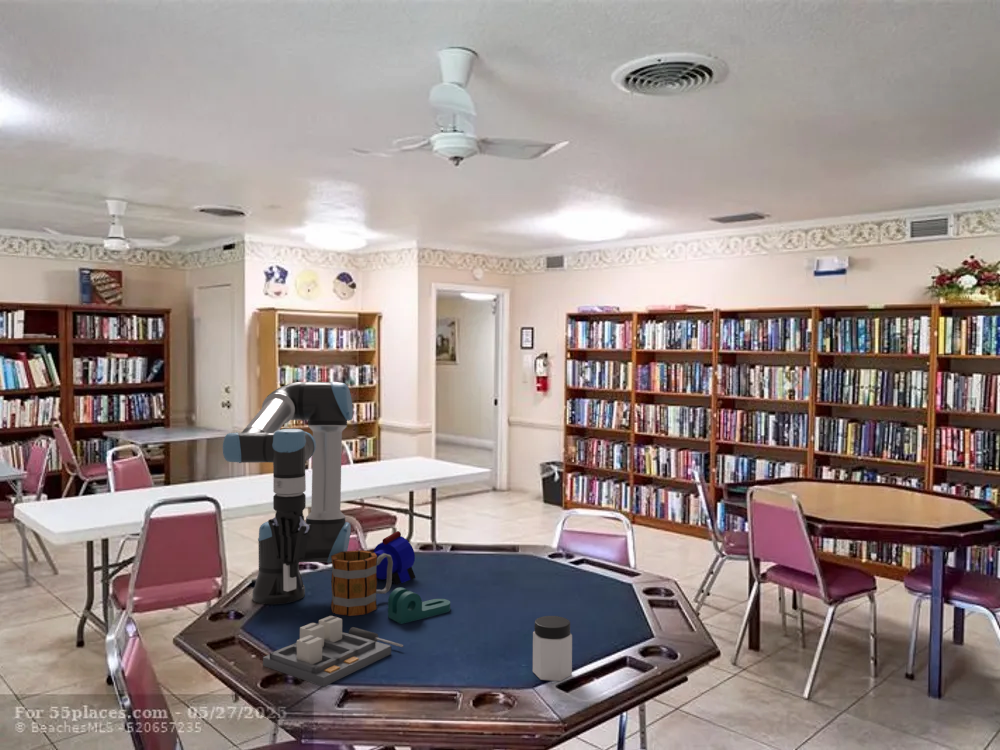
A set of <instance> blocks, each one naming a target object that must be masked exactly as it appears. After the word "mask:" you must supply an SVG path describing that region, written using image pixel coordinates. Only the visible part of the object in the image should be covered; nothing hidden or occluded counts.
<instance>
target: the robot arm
mask: <svg viewBox="0 0 1000 750" xmlns="http://www.w3.org/2000/svg"><path fill="white" fill-rule="evenodd" d="M353 409H354V408H353V400H352V394H351V391H350V388H349V385H347V384H346V383H344V382H340V381H339V382H336V381H295V382H292V383H291V382H290V383H287V384H285V385H283V386H280V387H278V388H277V389H275V390H273V391H272V392H271V393H270V394H268V395H267V396H266V397H265V398H264V399H263V402H262V405H261V409H260V410H258V412H257V413H256V415H254V417H253V418H252V419H251V421H250V422H249V423H248V424H247V425H246V427H245V428H244V429H243V430H242V431H241V432H237V431H236V432H229V433H227V434H225V436H224V439H223V442H222V455H223V458H224V459H225V462H226V461H227V462H228V463H239V464H243V463H247V464H249V463H253V464H254V463H255V464H256V463H258V464H259V463H272V466H273V470H272V471H273V474H272V475H273V477H272V479H273V483H272V484H273V490H272V491H273V493H274V495H273V501H272V502H273V503H272V504H273V510H274V511H275V515H274V517H273V518H270V519H268V521H264V522H263V523H261V524H260V526H259V529H258V538H257V542H258V573H257V577H256V581H255V584H254V587H253V589H252V594H251V595H252V597H251V598H252V601H254V602H255V603H256V604H257V603H258V604H262V605H284V604H289V603H292V602H296V601H297V602H298V601H299V600H301V599H303V598H304V597H305V595H306V587H305V585H304V581H303V579H302V574H301V573H300V563H328V564H329V563H330V564H331V563H332V559H331V556H332V555H334V554H337V553H340V552H344V551H349V550H348V549H349V545H350V538H351V531H352V530H351V527H352V526H351V523H350V522H348V521H346V515H345V514H344V513H343V512H342V511H341V505H342V504H341V498H342V497H341V496H342V495H341V494H342V491H341V490H342V449H343V447H342V443H343V441H342V440H343V431H344V430H345V429H346V428H347V427H348V422H349V421H351V420H353V412H354V411H353ZM290 421H307V427H308V428H309V429H310V431H312V434H311V433H309V432H307V431H304V430H303V429H300V428H284V429H283V428H282V427H283V425H285V424H287V423H289V422H290ZM281 428H282V429H281ZM311 458H312V463H311V464H312V469H311V470H312V471H311V474H312V475H311V511H310V512H309V513H308V514H307V516H306V517H304V510H305V509H306V506H307V505H306V498H307V497H306V494H305V492H306V489H307V486H306V484H307V483H306V461H308V460H309V459H311Z"/></svg>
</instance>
